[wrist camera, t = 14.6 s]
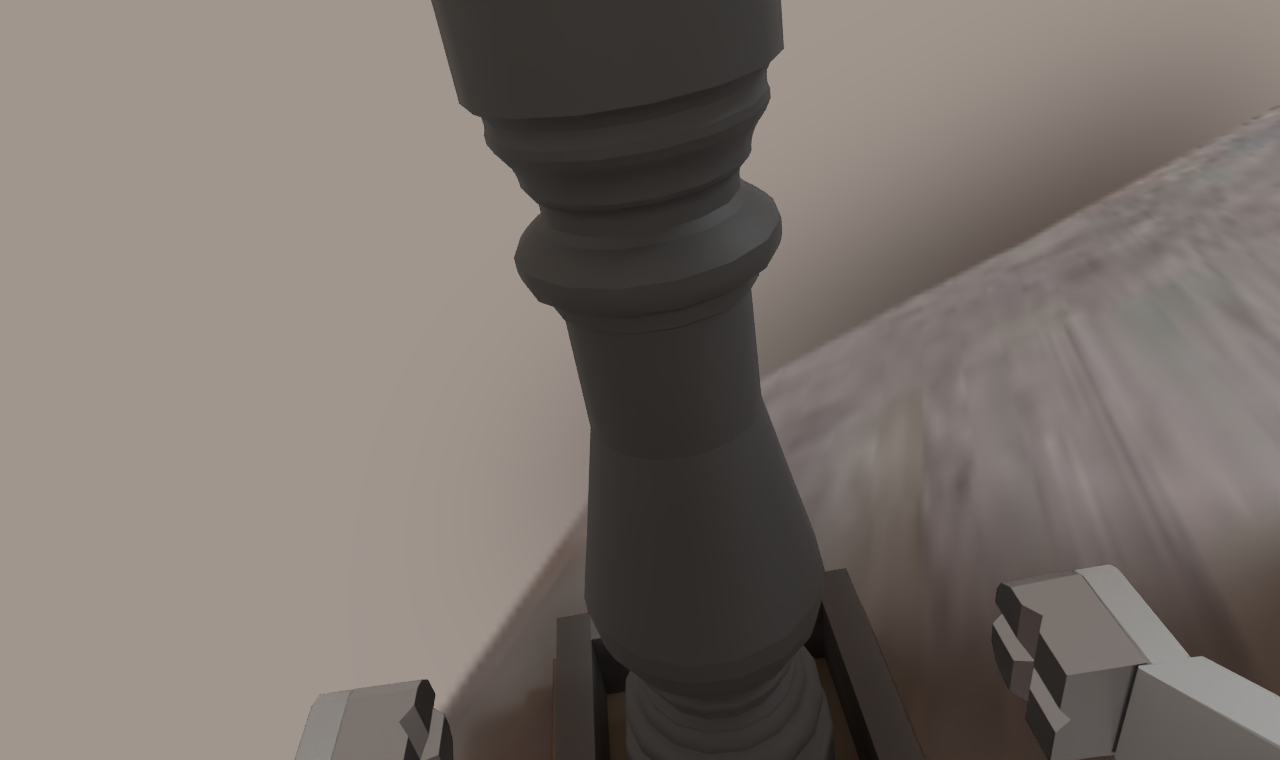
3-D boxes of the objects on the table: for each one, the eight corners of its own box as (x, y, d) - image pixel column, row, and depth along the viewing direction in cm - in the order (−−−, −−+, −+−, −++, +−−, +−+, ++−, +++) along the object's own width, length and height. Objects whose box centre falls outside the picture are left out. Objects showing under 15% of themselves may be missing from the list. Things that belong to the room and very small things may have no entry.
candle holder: (624, 725, 28) (396, -102, 15) (793, 677, 29) (719, -162, 15) (665, 914, 23) (367, -107, 10) (871, 850, 23) (860, -199, 10)
